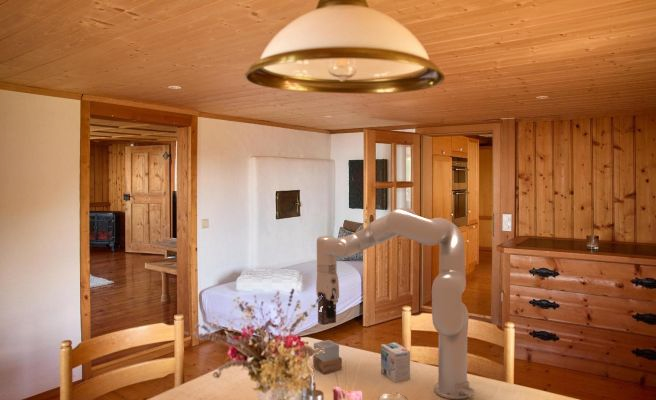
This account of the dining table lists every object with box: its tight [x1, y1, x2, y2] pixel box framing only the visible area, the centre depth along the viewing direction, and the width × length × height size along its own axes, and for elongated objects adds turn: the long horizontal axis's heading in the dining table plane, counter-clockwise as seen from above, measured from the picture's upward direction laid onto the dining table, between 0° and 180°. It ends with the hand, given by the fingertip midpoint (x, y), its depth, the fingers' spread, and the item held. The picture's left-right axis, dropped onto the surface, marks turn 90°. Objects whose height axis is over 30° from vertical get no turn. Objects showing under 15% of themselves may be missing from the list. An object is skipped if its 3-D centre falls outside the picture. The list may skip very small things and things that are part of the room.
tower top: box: [313, 339, 340, 361], centre depth 188 cm, size 7×7×5 cm
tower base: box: [312, 355, 343, 376], centre depth 188 cm, size 8×8×5 cm
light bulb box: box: [380, 341, 411, 383], centre depth 181 cm, size 11×7×11 cm, turn 23°
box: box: [317, 292, 337, 326], centre depth 187 cm, size 6×4×12 cm
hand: (327, 315), depth 187 cm, fingers closed on box, 4 cm apart
